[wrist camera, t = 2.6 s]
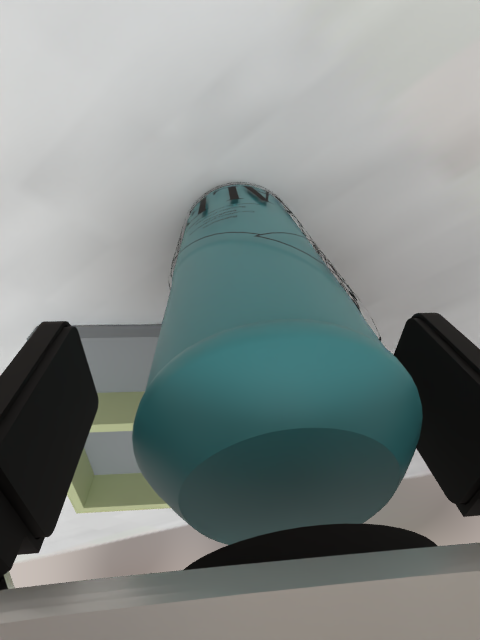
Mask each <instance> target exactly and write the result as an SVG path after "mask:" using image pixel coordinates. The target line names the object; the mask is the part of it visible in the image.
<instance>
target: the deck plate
mask: <svg viewBox="0 0 480 640" xmlns="http://www.w3.org/2000/svg"><path fill="white" fill-rule="evenodd" d="M161 326H162V325H107V326H74V327H76V328H77V330H78V332H79V335H80V339H81V342H82V345H83V348H84V352H85V355H86V358H87V362H88V365H89V368H90V371H91V375H92V378H93V381H94V385H95V388H96V391H97V394H98V399H99V404H98V410H97V413H96V415H95V418H94V421H93V424H92V426H91V429H90V432H89V435H88V438H87V440H86V443H85V446H84V449H83V451H82V454H81V457H80V460H79V463H78V465H77V468H76V471H75V474H74V477H73V479H72V482H71V485H70V488H69V490H68V493H67V495H68V497H69V499H70V501H71V503H72V505H73V507H74V509H75V511H76V513H92V512H109V511H127V510H145V509H163V508H171V507H170V506H169V505H168V504H167V503H166V502H165V501H164V500H163V499H162V498H160V497H159V495H158V494H157V493H156V492H155V491H154V490H153V488H152V487H151V486H150V484H149V483H148V482H147V480H146V479H145V478H144V476H143V475H142V473H141V471H140V469H139V467H138V465H137V462H136V459H135V455H134V451H133V443H132V432H133V424H134V419H135V415H136V412H137V409H138V406H139V403H140V401H141V399H142V397H143V395H144V393H145V390H146V386H147V382H148V378H149V374H150V370H151V366H152V362H153V358H154V354H155V350H156V346H157V342H158V338H159V334H160V330H161ZM71 327H73V326H71ZM37 328H38V326H37V327H36V328H35V330H36V329H37ZM35 330H34V331H33V332H32V333H31V334H30V336H29V337H28V338H27V341H28V339H29V338H30V337H31V336H32V334H33V333H34V332H35Z"/></svg>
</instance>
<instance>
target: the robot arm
mask: <svg viewBox="0 0 480 640" xmlns="http://www.w3.org/2000/svg"><path fill="white" fill-rule="evenodd" d="M394 356H395V357H396V358H397V359H398V360H399V361H400V363H401V364H402V365H403V366H404V368H405V369H406V370H407V372H408V373H409V374H410V376H411V377H412V379H413V381H414V383H415V385H416V387H417V390H418V393H419V397H420V400H421V404H422V414H423V419H422V426H421V433H420V437H419V440H418V443H417V446H416V448H417V450H418V451H419V453H420V455H421V456H422V458H423V460H424V461H425V463H426V464H427V466H428V468H429V469H430V471H431V472H432V474H433V476H434V477H435V479H436V481H437V482H438V484H439V485H440V487H441V489H442V490H443V492H444V493H445V495H446V496H447V498H448V499H449V500H450V501H451V502H452V503H455V504H456V505H457V507H458V509H459V510H460V512H461V513H462V515H463V516H464V517H465V516H478V515H480V349H479V348H478V347H476V346H475V345H474V344H473V343H472V342H471V341H470V340H469V339H467V338H466V337H465V336H464V335H463V334H462V333H461V332H459V331H458V330H457V329H456V328H455V327H454V326H453V325H451V324H450V323H449V322H448V321H447V320H446V319H445V318H444V317H442V316H441V315H440V314H438V313H417V314H414V315H413V316H412V318H410V319H408V320H407V322H406V324H405V327H404V329H403V332H402V335H401V337H400V340H399V343H398V345H397V348H396V350H395V353H394ZM98 404H99V399H98V394H97V391H96V388H95V385H94V381H93V378H92V375H91V371H90V368H89V365H88V362H87V358H86V355H85V352H84V348H83V345H82V342H81V339H80V335H79V332H78V330H77V328H76V327H74V326H73V327H71V325H70V324H69V323H68V322H66V321H57V322H42V323H41V324H40V325H39V326H38V328H37V329H36V330H35V332H34V333H33V334H32V336H31V337H30V338H29V339H28V341H27V342H26V343H25V345H24V346H23V347H22V349H21V350H20V351H19V352H18V354H17V355H16V356H15V358H14V359H13V360H12V362H11V363H10V364H9V365H8V367H7V368H6V369H5V371H4V372H3V373H2V375H1V376H0V640H480V543H471V544H459V545H448V546H437V547H425V548H414V549H402V550H392V551H381V552H370V553H359V554H348V555H338V556H327V557H316V558H305V559H295V560H284V561H274V562H263V563H252V564H242V565H232V566H221V567H211V568H201V569H191V570H181V571H171V572H162V573H150V574H140V575H130V576H120V577H110V578H100V579H91V580H83V581H75V582H66V583H58V584H49V585H41V586H32V587H23V588H14V585H13V582H12V579H11V576H10V573H9V570H11V568H12V566H13V563H14V561H15V558H16V556H17V555H20V554H32V553H39V551H40V549H41V546H42V543H43V541H44V538H45V537H49V536H50V535H51V534H52V533H53V531H54V529H55V527H56V524H57V521H58V518H59V515H60V513H61V510H62V507H63V504H64V502H65V499H66V496H67V493H68V490H69V488H70V485H71V482H72V479H73V477H74V474H75V471H76V468H77V465H78V463H79V460H80V457H81V454H82V451H83V449H84V446H85V443H86V440H87V438H88V435H89V432H90V429H91V426H92V424H93V421H94V418H95V415H96V413H97V410H98Z"/></svg>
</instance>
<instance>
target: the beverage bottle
mask: <svg viewBox="0 0 480 640" xmlns="http://www.w3.org/2000/svg"><path fill="white" fill-rule="evenodd" d="M236 183H239V182H236ZM240 183H245V182H240ZM228 184H230V183H228ZM250 184H251V183H250ZM250 184H244V185H238V184H236V185H233V184H230V185H228V186H225V187H224V186H222V185H221V186H222V187H219V186H218V187H219V188H217V190H215V191H213V192H211V193H209V194H208V195H207V196H205V195H204V196H205V197H204V196H203V195H202V196H203V197H204V198H203V197H202V196H201V197H202V198H203V199H202V200H201V201H200V202H198V201H199V200H198V201H197V202H198V203H197V204H196V205H195V206H194V207H195V208H194V209H192V210H193V211H192V210H191V211H192V212H191V211H190V210H189V211H190V213H191V214H189V215H190V217H189V219H188V221H187V225H186V228H185V232H184V236H183V239H182V243H180V244H181V247H180V250H179V254H178V255H177V256H178V258H177V261H176V262H173V261H172V263H174V264H176V265H174V268H175V269H174V268H173V266H172V268H173V269H174V270H173V272H174V273H173V277H171V278H172V287H171V288H170V290H171V291H170V295H169V299H168V303H167V306H166V310H165V314H164V318H163V322H162V326H161V330H160V334H159V338H158V342H157V346H156V350H155V354H154V358H153V362H152V366H151V370H150V374H149V378H148V382H147V386H146V390H145V393H144V395H143V397H142V399H141V401H140V403H139V406H138V409H137V412H136V415H135V419H134V424H133V432H132V443H133V451H134V455H135V459H136V462H137V465H138V467H139V469H140V471H141V473H142V475H143V476H144V478H145V479H146V480H147V482H148V483H149V484H150V486H151V487H152V488H153V490H154V491H155V492H156V493H157V494H158V495H159V497H160V498H162V499H163V500H164V501H165V502H166V503H167V504H168V505H169V506H170V507H171V508H172V509H173V510H174V511H175V512H176V513H177V514H178V515H179V516H180V517H181V518H182V519H183V520H185V521H186V522H187V523H188V524H189V525H190V526H192V527H193V528H194V529H196V530H197V531H198V532H200V533H201V534H203V535H205V536H206V537H208V538H210V539H213V540H215V541H218V542H221V543H224V544H228V546H226V547H223V548H220V549H218V550H216V551H214V552H212V553H210V554H207V555H206V556H204V557H202V558H200V559H198V560H197V561H195V562H193V563H192V564H190V565H189V566H188V567H186V568H185V569H184V570H191V569H201V568H211V567H221V566H232V565H242V564H252V563H263V562H274V561H284V560H295V559H305V558H316V557H327V556H338V555H348V554H359V553H370V552H381V551H392V550H402V549H414V548H425V547H437V545H436V544H435V543H434V542H432V541H431V540H429V539H428V538H426V537H424V536H422V535H420V534H417V533H415V532H412V531H408V530H405V529H401V528H396V527H390V526H384V525H373V524H362V523H364V522H365V521H367V520H368V519H369V518H371V517H372V516H374V515H375V514H376V513H377V512H378V511H380V510H381V509H382V508H383V507H384V506H385V505H386V504H387V503H388V501H389V500H390V499H391V498H392V496H393V494H394V493H395V491H396V489H397V488H398V486H399V484H400V483H401V481H402V479H403V477H404V475H405V473H406V471H407V469H408V466H409V464H410V462H411V459H412V457H413V455H414V452H415V449H416V446H417V443H418V440H419V437H420V433H421V426H422V419H423V414H422V404H421V400H420V397H419V393H418V390H417V387H416V385H415V383H414V381H413V379H412V377H411V376H410V374H409V373H408V372H407V370H406V369H405V368H404V366H403V365H402V364H401V363H400V361H399V360H398V359H397V358H396V357H395V356H394V355H393V354H392V353H391V352H389V351H388V350H387V349H386V348H385V347H384V345H383V344H382V343H381V337H380V338H379V339H378V337H377V336H376V335H375V333H374V332H373V331H372V329H371V328H370V326H369V325H368V324H367V322H366V321H365V319H364V318H363V316H362V315H361V312H360V310H359V308H360V307H359V308H358V306H359V305H358V304H357V305H358V306H357V305H356V304H355V302H356V301H355V302H354V301H353V299H354V298H355V297H354V294H352V293H354V292H352V290H350V291H351V292H352V293H351V292H350V291H349V290H348V291H349V293H350V294H351V296H352V297H354V298H353V299H351V298H350V297H349V294H347V292H348V291H347V292H346V290H347V289H346V290H344V289H345V288H346V287H345V288H344V289H343V287H344V286H341V284H342V283H343V282H344V281H343V280H344V279H343V278H342V279H343V280H342V279H341V278H340V277H339V275H340V274H339V273H338V274H339V275H337V274H336V275H337V277H339V278H340V279H341V280H342V281H343V282H342V283H339V282H338V281H337V279H336V278H335V277H334V275H333V274H332V272H333V271H332V270H331V271H332V272H331V271H330V270H329V268H328V267H327V266H326V265H327V263H328V262H326V264H325V263H324V262H323V260H322V259H321V255H322V254H321V253H323V252H322V251H321V250H320V251H319V249H318V250H316V251H315V249H314V248H313V247H315V246H316V244H315V243H312V244H315V245H313V247H312V245H311V244H310V242H309V241H308V240H309V239H308V240H307V238H306V237H305V236H306V234H305V233H302V232H301V229H302V228H301V229H299V227H298V226H297V225H296V223H295V222H294V221H293V219H292V218H291V217H290V215H289V214H288V212H289V213H292V212H291V211H290V210H289V209H288V208H287V207H286V206H285V205H284V204H283V202H282V201H281V200H280V198H277V197H276V196H275V197H276V198H277V199H278V200H279V201H280V202H281V203H282V204H283V205H284V206H285V207H286V208H287V209H288V210H289V211H287V210H285V208H284V207H283V206H282V205H281V203H280V202H279V201H278V200H277V199H276V198H275V197H273V196H272V195H273V193H272V192H271V193H272V195H271V193H270V194H269V192H267V191H268V190H267V191H265V190H262V189H260V188H257V187H258V186H259V185H258V186H257V187H254V186H249V185H250ZM224 185H225V184H224ZM255 185H256V184H255ZM261 187H262V186H261ZM263 188H264V187H263ZM205 194H206V193H205ZM194 204H195V203H194ZM192 208H193V207H192ZM292 214H293V213H292ZM292 214H291V215H292ZM292 216H293V215H292ZM294 217H295V216H294ZM295 218H296V217H295ZM297 221H298V220H297ZM298 222H299V221H298ZM299 223H300V222H299ZM183 226H184V225H183ZM299 226H300V225H299ZM301 227H303V226H302V225H301ZM182 228H183V227H182ZM302 231H303V229H302ZM303 232H304V231H303ZM306 232H307V231H306ZM181 233H182V232H181ZM304 234H305V235H304ZM307 234H308V233H307ZM308 235H309V234H308ZM180 236H181V235H180ZM310 238H311V237H310ZM311 239H312V238H311ZM179 240H181V239H180V237H179ZM310 241H311V240H310ZM180 242H181V241H180ZM312 242H313V241H312ZM178 243H179V242H178ZM178 245H179V244H178ZM178 245H177V246H178ZM315 248H316V249H317V247H315ZM176 249H177V248H176ZM317 251H318V252H319V253H320V252H321V253H320V255H319V254H318V252H317ZM174 255H175V254H174ZM177 256H176V257H177ZM322 256H323V257H324V258H325V257H326V256H325V255H324V254H323V255H322ZM173 259H174V258H173ZM175 259H176V258H175ZM175 259H174V261H175ZM325 260H328V259H326V258H325ZM328 261H329V260H328ZM329 262H330V261H329ZM328 264H329V263H328ZM329 265H330V266H332V264H329ZM172 268H171V269H172ZM332 268H333V266H332ZM333 270H334V271H335V270H336V269H334V268H333ZM336 271H337V270H336ZM336 271H335V273H337V272H338V271H337V272H336ZM171 273H172V271H171ZM333 273H334V272H333ZM171 276H172V274H171ZM339 281H340V280H339ZM344 283H345V284H346V282H344ZM343 285H344V284H343ZM346 285H347V284H346ZM169 287H170V285H169ZM347 287H348V288H350V287H349V286H348V285H347ZM357 298H358V297H357ZM355 299H356V298H355ZM355 299H354V300H355ZM356 300H357V299H356ZM356 303H357V302H356ZM361 303H362V302H361ZM371 319H372V318H371ZM373 323H374V322H373ZM374 325H375V324H374ZM375 327H376V326H375ZM376 329H377V328H376ZM379 336H380V335H379Z"/></svg>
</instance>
